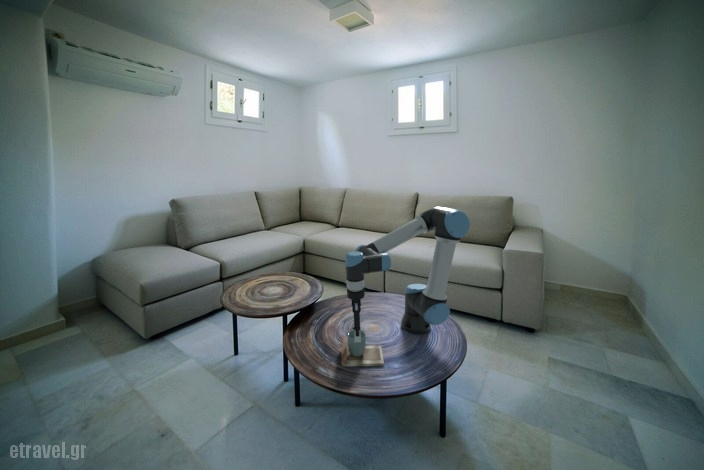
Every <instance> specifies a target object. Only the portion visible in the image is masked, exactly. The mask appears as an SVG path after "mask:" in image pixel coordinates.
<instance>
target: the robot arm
mask: <svg viewBox="0 0 704 470" xmlns="http://www.w3.org/2000/svg"><path fill="white" fill-rule="evenodd" d="M470 222H471V221H470V219H469V217H468V215H467V214H466V213H465V212H464V211H461V210H459V209H456V208H451V207H450V208H449V207H445V206H435V207H431V208H429V209H427V210H424V211H423V212H420V213H419V214H417V215H415V216H414V219H412V220H410V221H409V222H407V223H405V224H403V225H401V226H400V227H397V228H396V229H393V230H391V232H388V233H387V234H385V235H383V236H381V237H380V238H377V239H376V240H373V241H372V242H371V243H369V244H367V245H366V244H361V245H358V246H357V248H356V249H355V251H350V252H348V253H346V255H345V262H344V263H345V264H344V265H345V275H346V277H345V278H346V280H345V282H344V284H346V297H347V298H348V299H349V300H351V307H352V310H351V311H352V313H353V327H352V329H351V330H354V341H355V342H361V330H362V328H361V311H362V310H361V306H362V299H364V298H365V296H366V293H365V287H366V286H365V275H367V274H372V273H378V272H379V273H381V272H384V271H385V272H386V271H389V270H390V269H391V267H392V259H391V256H390V255H389V254H388V252H390V251H391V250H393V249H395V248H397V247H400V246H401V245H403V244H405V243H407V241H409V240H412V239H413V238H415V237H417V236H419V235H420V234H422V233H423V234H427V233H429V232H430V231H434V238H435V239H436V243H435V248H434V251H433V256H432V262H431V266H430V272H429V276H428V280H427V284H424V283H411V284H407V286H405V292H404V312H403V316H402V318H401V322H400V327H401V329H402V330H404V331H405V332H407V333H410V334H414V335H421V334H422V335H423V334H426V333H428V332H429V331H430V330H431V326H438V325H439V326H440V325H442V324H443V323H444V322H446V321H447V320H448V318H449V317H450V315H451V314H450V313H451V310H450V307H449V306H448V304H447V303H448V302H447V301H448V295H447V294H446V291H447V286H448V281H449V277H450V273H451V267H452V264H453V259H454V255H455V250H456V248H457V247H456V245H457V244H458V243H460V242H461V239H462V238H463V237H465V235H466V234H467V233H468V232H469V230H470V225H471V224H470Z"/></svg>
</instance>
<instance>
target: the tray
mask: <svg viewBox="0 0 704 470" xmlns="http://www.w3.org/2000/svg"><path fill="white" fill-rule="evenodd" d="M382 350H383V349H382V346H381V345H366V347H365V352H364V354H363V355H362V356H360V357H354V356H352V355H351V354H350V352H349V349H348V335H347V336H342V337H341V367H384V365H385V363H384V356H383V355H384V354H383V351H382Z"/></svg>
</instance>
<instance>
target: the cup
mask: <svg viewBox="0 0 704 470" xmlns="http://www.w3.org/2000/svg"><path fill="white" fill-rule="evenodd" d="M366 339H367V338H366V332H365V331H364V330H362V329H361V342H355V341H354V329H351V330H350V331H349V332H348V333H347V346H348V349H349V352H350V354H351V355H352V356H354V357H360V356H362V355H363V354H364V352H365V347H366V346H367V345H366V344H367V340H366Z"/></svg>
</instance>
